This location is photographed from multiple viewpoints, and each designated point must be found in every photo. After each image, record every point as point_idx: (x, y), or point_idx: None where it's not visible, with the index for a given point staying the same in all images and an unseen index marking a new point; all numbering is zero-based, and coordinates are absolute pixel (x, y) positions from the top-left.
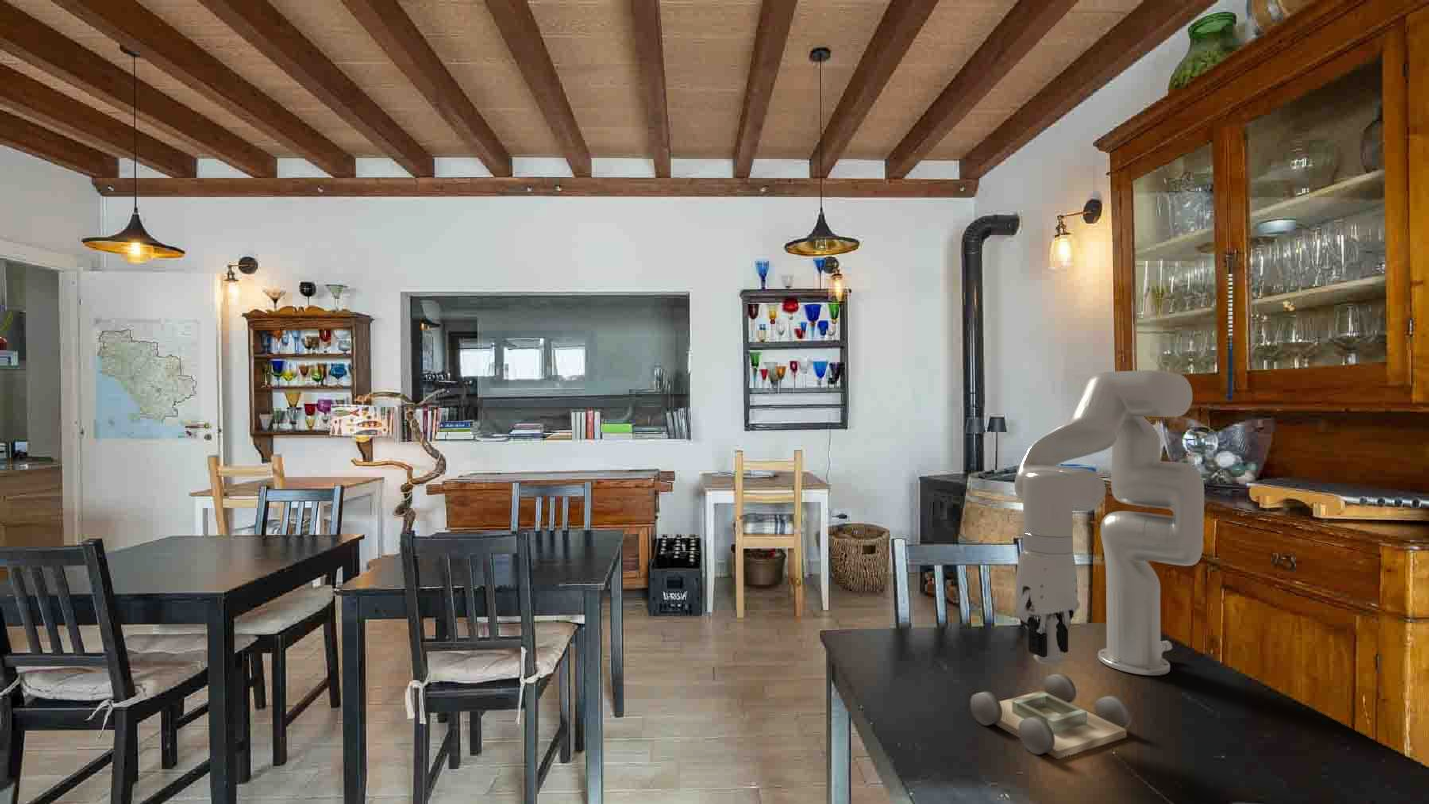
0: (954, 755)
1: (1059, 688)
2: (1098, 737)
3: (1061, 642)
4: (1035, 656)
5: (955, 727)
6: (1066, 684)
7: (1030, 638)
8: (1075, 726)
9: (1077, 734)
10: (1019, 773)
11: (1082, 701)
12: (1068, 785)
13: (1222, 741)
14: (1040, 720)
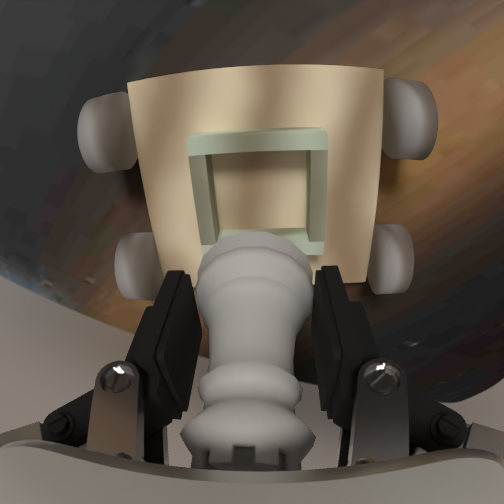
0: (23, 212)
1: (392, 131)
2: None
3: (315, 349)
4: (208, 260)
5: (59, 126)
6: (404, 153)
7: (135, 342)
8: None
9: None
10: (88, 281)
11: (440, 135)
12: (137, 323)
13: (458, 321)
14: (137, 291)
